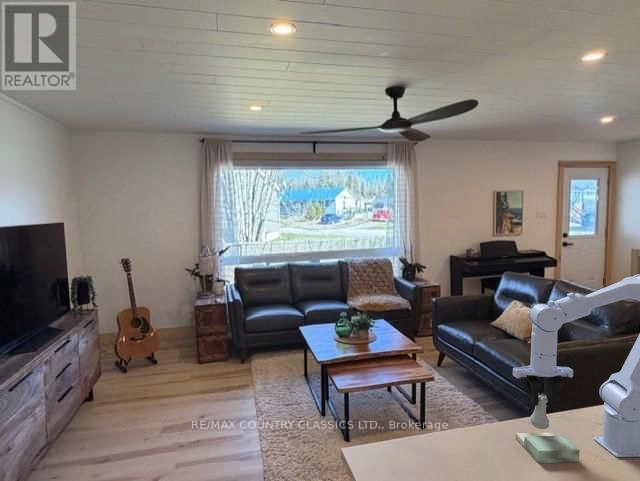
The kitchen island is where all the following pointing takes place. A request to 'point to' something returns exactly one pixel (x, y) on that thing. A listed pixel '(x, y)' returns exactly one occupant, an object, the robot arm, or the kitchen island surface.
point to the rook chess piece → (540, 414)
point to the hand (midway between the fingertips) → (541, 403)
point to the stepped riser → (548, 447)
